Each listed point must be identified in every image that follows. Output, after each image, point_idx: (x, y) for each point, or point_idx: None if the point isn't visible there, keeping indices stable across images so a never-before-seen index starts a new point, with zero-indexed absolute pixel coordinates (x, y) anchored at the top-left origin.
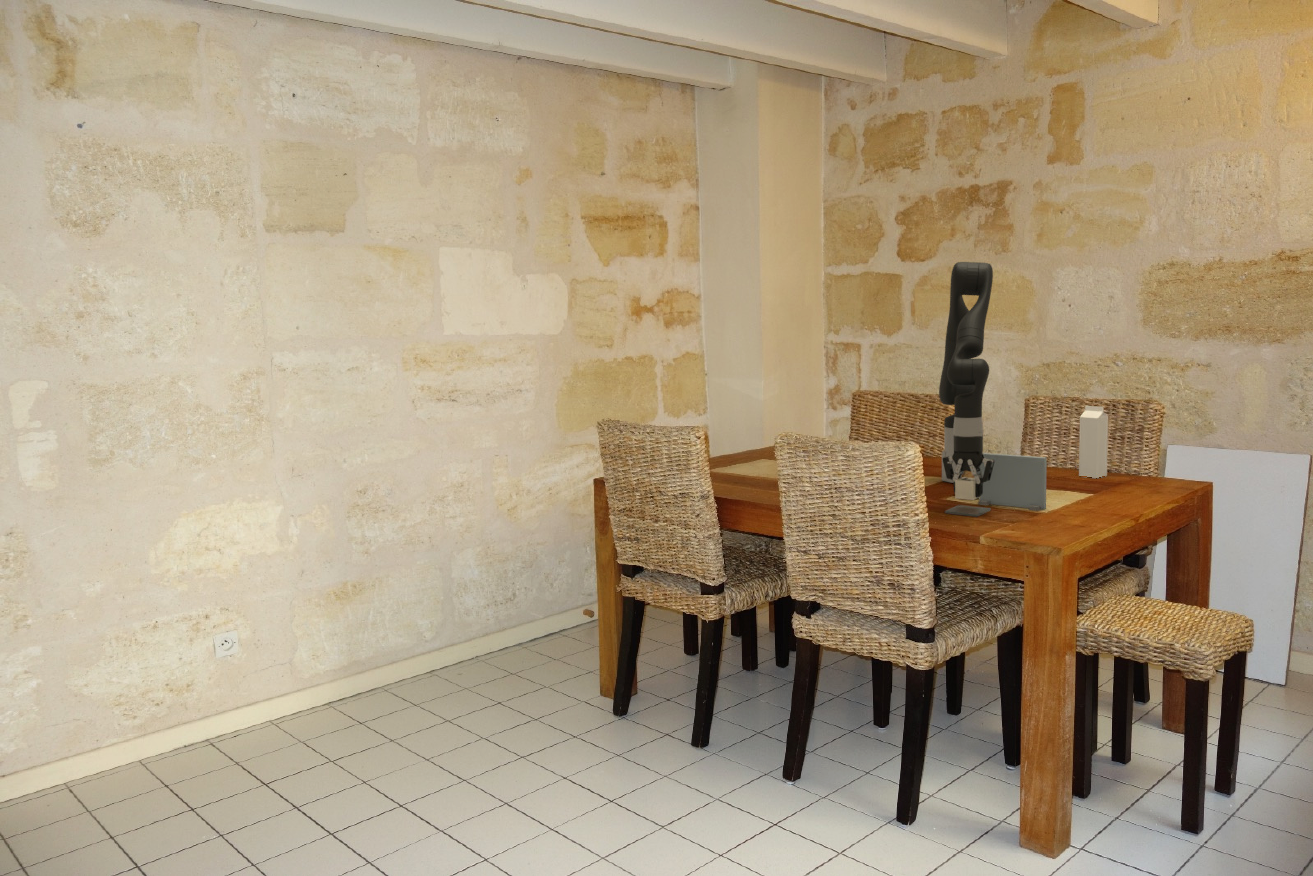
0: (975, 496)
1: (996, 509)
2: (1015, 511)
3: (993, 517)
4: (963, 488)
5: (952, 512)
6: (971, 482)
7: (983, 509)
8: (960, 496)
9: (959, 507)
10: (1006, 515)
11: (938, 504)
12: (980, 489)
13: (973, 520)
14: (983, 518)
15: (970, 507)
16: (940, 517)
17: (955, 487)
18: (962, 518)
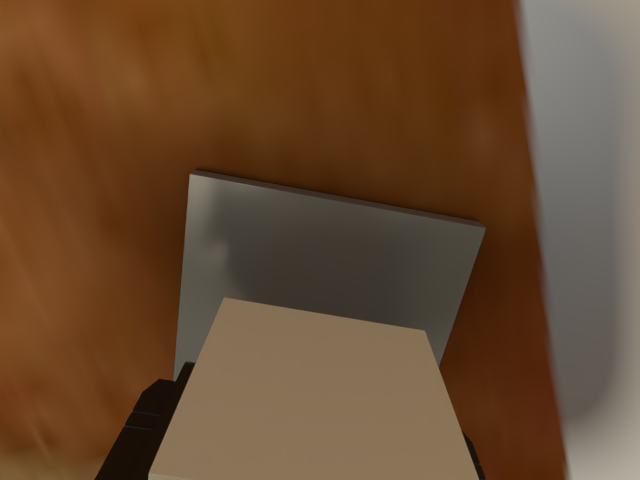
0: None
1: None
2: (19, 419)
3: (70, 193)
4: (334, 396)
5: (415, 212)
6: (185, 460)
7: None
8: (368, 336)
9: None
10: (15, 290)
11: (556, 470)
12: (124, 432)
13: (178, 9)
14: (128, 128)
15: None
16: (497, 37)
17: (453, 419)
18: (294, 64)
